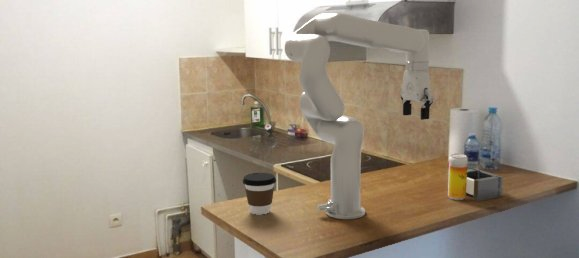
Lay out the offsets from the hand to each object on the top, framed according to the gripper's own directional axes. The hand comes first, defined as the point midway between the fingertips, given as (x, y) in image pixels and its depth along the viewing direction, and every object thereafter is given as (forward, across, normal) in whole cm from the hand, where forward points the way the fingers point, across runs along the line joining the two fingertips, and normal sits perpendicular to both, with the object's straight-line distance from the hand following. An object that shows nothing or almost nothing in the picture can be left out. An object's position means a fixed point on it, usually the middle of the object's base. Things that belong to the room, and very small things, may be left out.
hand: (415, 117), depth 190 cm
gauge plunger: (+27, +7, +20) cm, 34 cm away
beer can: (+28, +8, +12) cm, 32 cm away
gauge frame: (+28, +8, +21) cm, 36 cm away
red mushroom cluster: (+28, -9, +27) cm, 40 cm away
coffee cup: (+28, -10, -54) cm, 62 cm away
